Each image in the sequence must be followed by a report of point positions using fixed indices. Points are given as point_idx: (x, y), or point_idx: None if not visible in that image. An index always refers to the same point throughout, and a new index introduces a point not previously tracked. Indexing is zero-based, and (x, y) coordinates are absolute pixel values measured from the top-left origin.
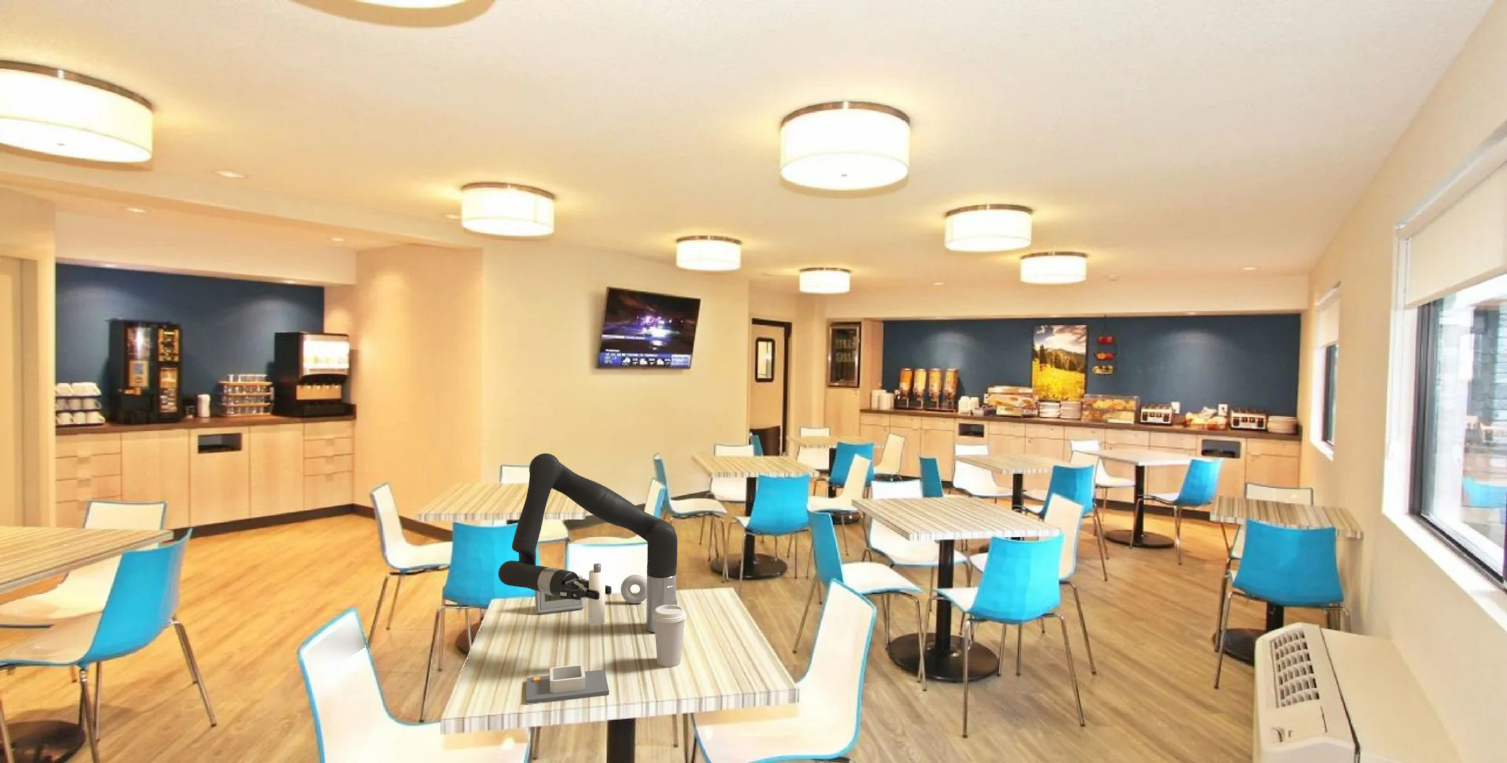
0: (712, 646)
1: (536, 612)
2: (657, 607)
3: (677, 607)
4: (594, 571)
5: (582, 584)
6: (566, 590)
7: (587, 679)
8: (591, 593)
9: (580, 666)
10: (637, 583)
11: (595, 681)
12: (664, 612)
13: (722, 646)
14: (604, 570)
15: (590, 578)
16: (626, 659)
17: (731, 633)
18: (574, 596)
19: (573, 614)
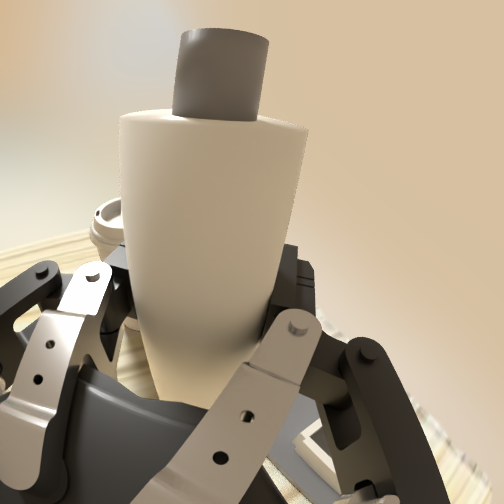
0: (77, 267)
1: None
2: (114, 227)
3: (109, 206)
4: (256, 109)
5: (134, 426)
6: (432, 461)
7: (303, 422)
8: (313, 280)
9: (308, 437)
10: None
11: (303, 401)
12: None
13: (79, 257)
14: (157, 110)
15: (294, 192)
16: (140, 395)
17: (36, 254)
18: (336, 439)
19: None
